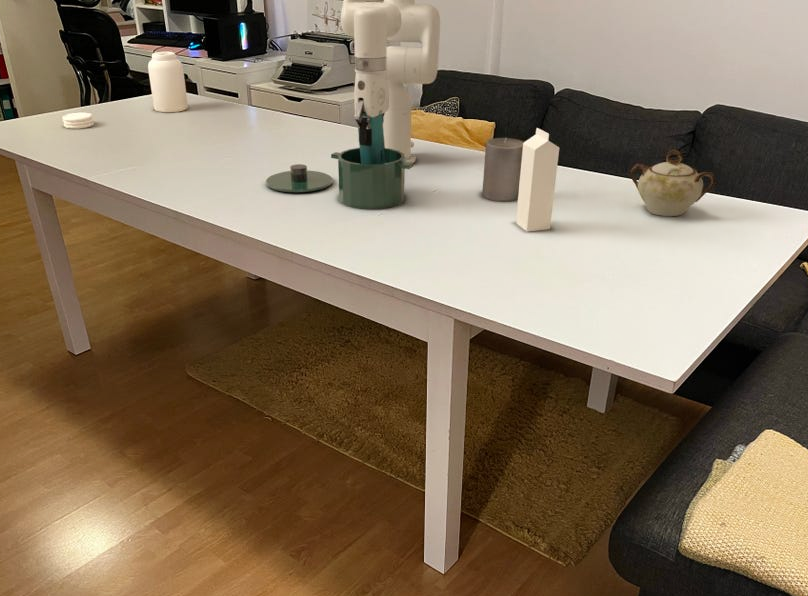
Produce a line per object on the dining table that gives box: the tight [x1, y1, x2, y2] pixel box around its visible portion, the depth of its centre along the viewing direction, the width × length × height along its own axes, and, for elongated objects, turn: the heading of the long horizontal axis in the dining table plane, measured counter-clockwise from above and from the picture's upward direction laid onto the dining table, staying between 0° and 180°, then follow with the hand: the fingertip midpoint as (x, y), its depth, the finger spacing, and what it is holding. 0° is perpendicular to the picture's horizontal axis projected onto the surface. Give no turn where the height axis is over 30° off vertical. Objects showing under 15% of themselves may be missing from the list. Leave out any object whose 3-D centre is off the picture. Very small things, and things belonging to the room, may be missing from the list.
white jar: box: [147, 51, 189, 113], centre depth 277 cm, size 12×12×20 cm
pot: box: [330, 147, 414, 210], centre depth 189 cm, size 17×22×11 cm
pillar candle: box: [481, 136, 525, 202], centre depth 190 cm, size 10×10×15 cm
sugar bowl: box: [629, 149, 716, 217], centre depth 180 cm, size 20×15×15 cm
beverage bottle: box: [357, 112, 386, 164], centre depth 184 cm, size 6×7×20 cm
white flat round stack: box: [61, 112, 95, 130], centre depth 259 cm, size 10×10×4 cm
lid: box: [265, 163, 333, 193], centre depth 201 cm, size 18×18×5 cm
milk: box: [515, 127, 560, 233], centre depth 169 cm, size 6×6×22 cm
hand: (371, 141), depth 185 cm, fingers closed on beverage bottle, 5 cm apart
